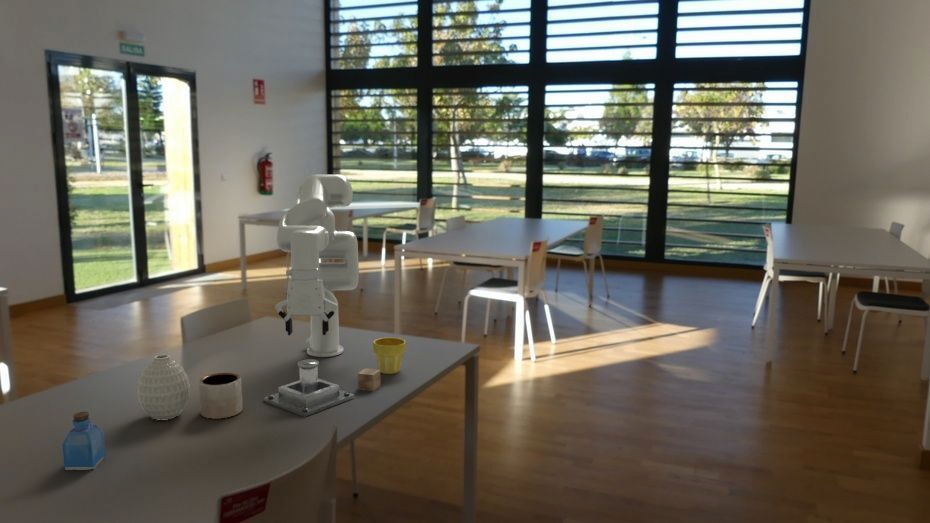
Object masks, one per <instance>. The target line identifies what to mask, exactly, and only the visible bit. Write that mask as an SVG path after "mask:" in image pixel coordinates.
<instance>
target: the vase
mask: <svg viewBox="0 0 930 523" xmlns="http://www.w3.org/2000/svg"><path fill="white" fill-rule="evenodd" d="M136 390H137V391H136V392H137V399H138V402H139V404H140V407H141V408H142V410H143V411H144V412H145V413H146V415H147V416H149V418H151V419H153V420H154V419H160V420H162V419H170V418H173V417H176V416H177V417H178V416H179V415H180V414H181V413H182V412H183V411H184V409H185V407H186V406H187V404H188V401H189V398H190V395H191V383H190V378H189V376H188V374H187V372H186V370H185V369H184V367H183V366H182V365H181V364H179V363H178V362H177V361H175V359H173V358H172V357H171V355H169V354H166V353H165V354H164V353H163V354H157V355H155V356H153V357H152V360H151V361H150V362H149V363H148V364H147V366H145V367H144V369H143V370H142V372H141V374H140V376H139V378H138V381H137V388H136ZM177 417H176V418H177Z"/></svg>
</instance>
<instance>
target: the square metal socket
mask: <svg viewBox="0 0 930 523" xmlns="http://www.w3.org/2000/svg"><path fill="white" fill-rule="evenodd" d="M262 398H263V400H262V401H263V402H264V401H266V402H265V403H267V402H268V403H267V404H269V403H271V404H270V405H272V404H273V405H272V406H275V407H277V408H280V409H283V410H285V411H288V412H291V413H294V414H295V415H299V416H301V417H304V418H306V417H308V416H311V415H314V414H317V413H319V412H321V411H325V410H328V409H329V408H331V407H335V406H337V405H339V404H342V403H345V402H347V401H350V400H353V399H355V394H353V393H352V392H351V393H350V392H349V391H344V390H342V389H341V390H340V385H339V384H336V383H334V382H330V381H327V380H325V379H321V378H318V390H317V391H315V392H312V393H309V394H305V393H302V392H300V379H299V380H296V381H293V382H290V383H287V384H285V385H281V386H279V387H278V392H277V393H274V394H269V395H267V396H265V397H262Z"/></svg>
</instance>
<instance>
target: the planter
mask: <svg viewBox="0 0 930 523" xmlns="http://www.w3.org/2000/svg"><path fill="white" fill-rule="evenodd" d="M198 388H199V389H198V392H199V412H200V415H201V416H202V417H204V418H205V417H206V419H208V418H212V419H211V420H222V419H221V418H225V419H229V418H228V417H230V418H232V417H231V416H233V417H235V416H237V415H238V414H240V413H241V412H242V411H243V407H244V406H243V392H242V390H243V389H242V376H241V375H240V374H238V373H235V372H217V373H216V372H215V373H210V374H207V375H204V376H202V377H201V378H200V379H199V380H198Z"/></svg>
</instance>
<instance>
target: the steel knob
mask: <svg viewBox="0 0 930 523" xmlns="http://www.w3.org/2000/svg"><path fill="white" fill-rule="evenodd" d="M319 365H320V362H319V360H318V359H312V358H310V359H309V358H307V359H302V360H300V361H297V367H298V368H299V380H300V392H302V393H305V394H309V393H312V392H315V391H317V390H318V379H319V377H318V376H319V374H318V371H319V370H318V367H319Z"/></svg>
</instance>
